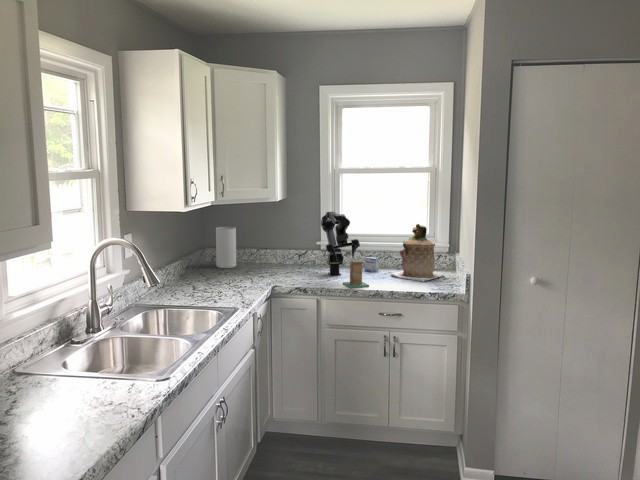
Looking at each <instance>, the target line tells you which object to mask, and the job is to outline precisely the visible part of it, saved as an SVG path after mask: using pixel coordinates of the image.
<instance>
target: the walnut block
mask: <svg viewBox="0 0 640 480" xmlns="http://www.w3.org/2000/svg"><path fill="white" fill-rule="evenodd" d="M349 282H350V283H351V284H353V285H359V284H362V282H363V260H359V259H356V260H355V259H353V260H350V261H349Z"/></svg>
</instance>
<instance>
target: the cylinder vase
mask: <svg viewBox="0 0 640 480" xmlns="http://www.w3.org/2000/svg"><path fill="white" fill-rule="evenodd" d="M236 228H237V227H235V226H218V227H215V244H216V245H215V247H216V248H215V253H216V255H215V256H216V258H215V259H216V262H215V263H216V268H219V269H232V268H235V267H236V266H237V229H236Z"/></svg>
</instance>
